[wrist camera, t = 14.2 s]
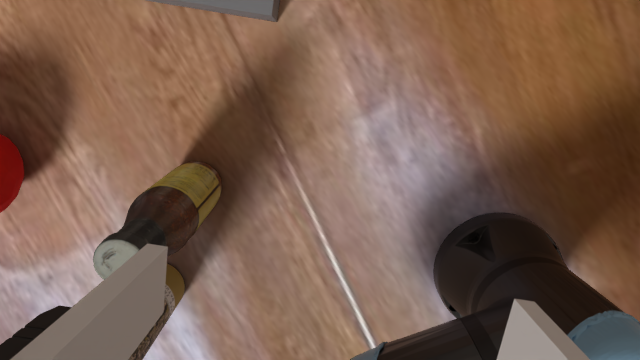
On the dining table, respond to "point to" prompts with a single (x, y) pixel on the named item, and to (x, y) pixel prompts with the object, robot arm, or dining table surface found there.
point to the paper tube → (171, 300)
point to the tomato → (9, 172)
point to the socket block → (233, 7)
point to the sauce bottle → (162, 215)
